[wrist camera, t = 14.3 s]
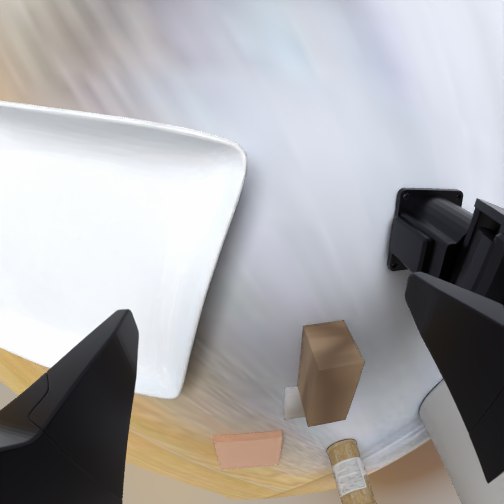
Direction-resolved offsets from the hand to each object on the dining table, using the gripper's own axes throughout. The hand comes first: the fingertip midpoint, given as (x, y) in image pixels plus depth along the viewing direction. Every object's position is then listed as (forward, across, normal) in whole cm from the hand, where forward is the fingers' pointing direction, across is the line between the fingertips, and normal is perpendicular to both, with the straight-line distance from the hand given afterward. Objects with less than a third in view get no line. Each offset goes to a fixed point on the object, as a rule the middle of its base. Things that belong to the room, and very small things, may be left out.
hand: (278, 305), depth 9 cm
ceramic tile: (+11, +2, +27) cm, 30 cm away
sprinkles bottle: (+11, -11, +36) cm, 39 cm away
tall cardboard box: (+11, -5, +17) cm, 21 cm away
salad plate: (+12, +13, +2) cm, 18 cm away
